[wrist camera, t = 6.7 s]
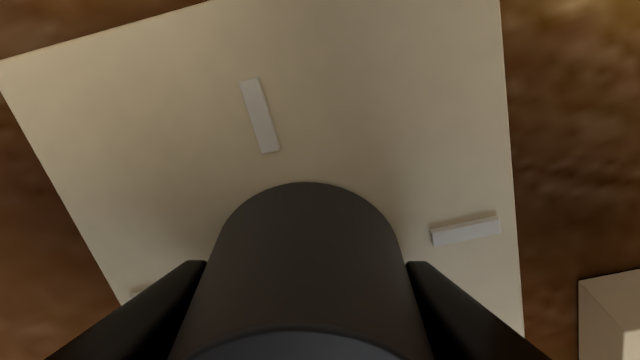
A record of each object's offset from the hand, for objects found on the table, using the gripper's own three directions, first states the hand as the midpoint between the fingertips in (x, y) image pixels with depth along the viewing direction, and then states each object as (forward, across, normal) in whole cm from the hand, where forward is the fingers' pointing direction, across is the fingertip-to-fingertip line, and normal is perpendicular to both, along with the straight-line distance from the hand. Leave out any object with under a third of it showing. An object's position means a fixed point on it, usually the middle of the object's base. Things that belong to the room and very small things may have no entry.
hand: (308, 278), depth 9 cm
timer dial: (0, 0, 0) cm, 0 cm away
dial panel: (+4, 0, 0) cm, 4 cm away
